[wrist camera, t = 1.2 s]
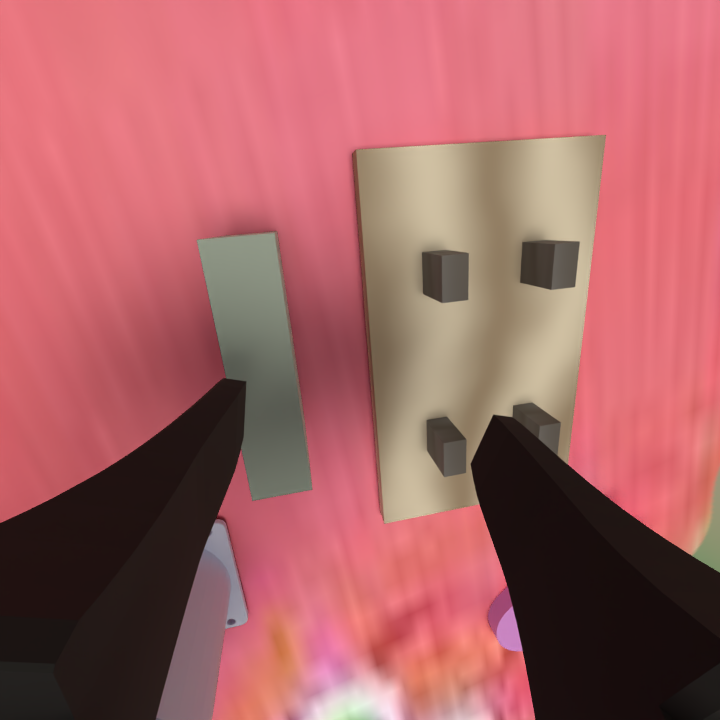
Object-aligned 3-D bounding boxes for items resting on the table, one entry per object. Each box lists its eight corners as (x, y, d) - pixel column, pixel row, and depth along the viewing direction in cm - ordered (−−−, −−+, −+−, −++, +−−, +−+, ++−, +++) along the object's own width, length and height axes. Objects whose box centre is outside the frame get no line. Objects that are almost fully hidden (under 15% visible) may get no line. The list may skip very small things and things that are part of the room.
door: (260, 428, 21) (252, 500, 16) (224, 236, 18) (196, 239, 12) (304, 421, 21) (312, 489, 16) (277, 231, 18) (274, 232, 12)
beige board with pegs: (380, 512, 24) (395, 556, 21) (352, 153, 17) (368, 137, 14) (555, 477, 26) (594, 513, 23) (590, 139, 19) (652, 121, 16)
